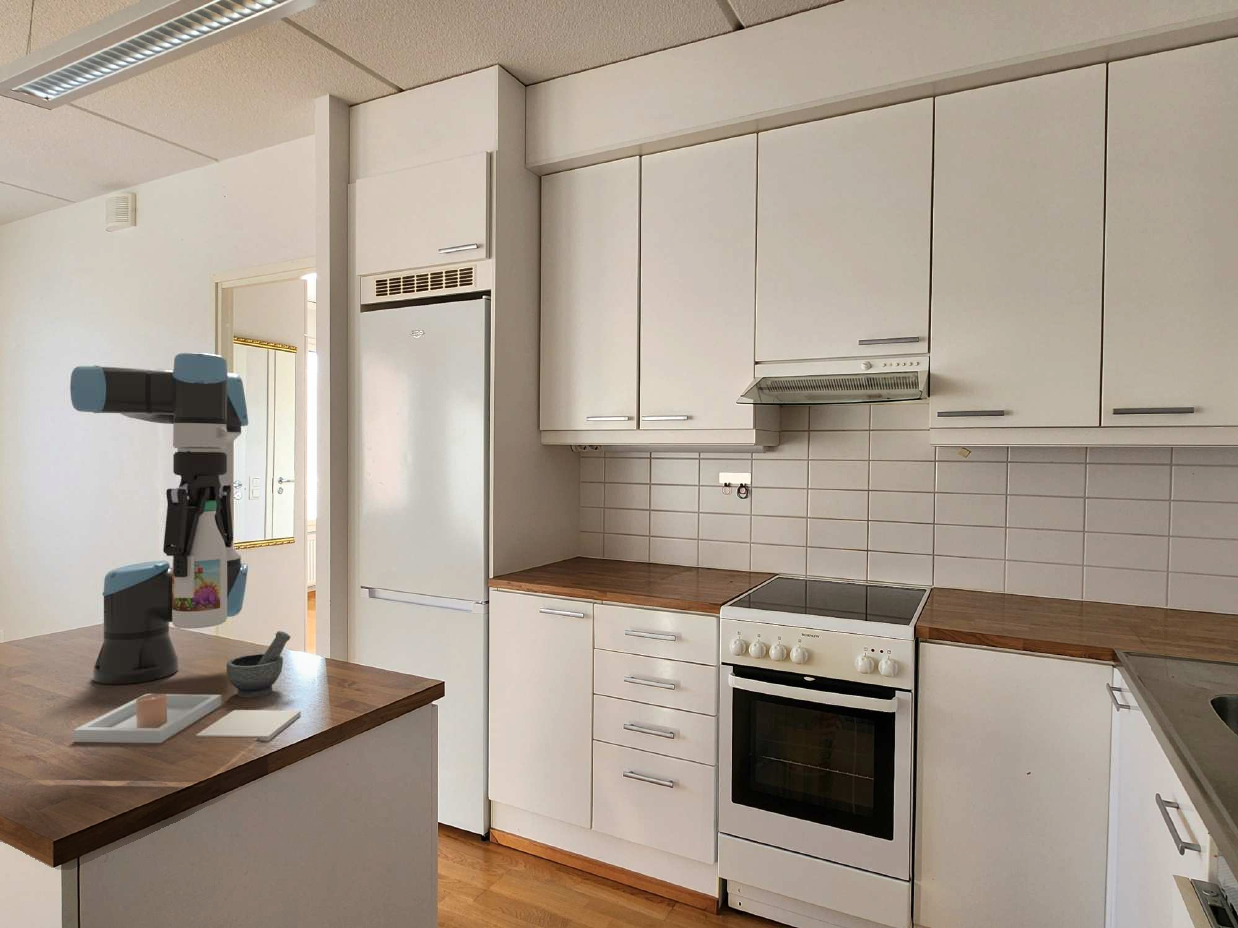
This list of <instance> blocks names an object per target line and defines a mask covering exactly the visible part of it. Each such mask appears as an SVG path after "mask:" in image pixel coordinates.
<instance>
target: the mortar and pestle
mask: <svg viewBox="0 0 1238 928" xmlns="http://www.w3.org/2000/svg"><path fill="white" fill-rule="evenodd" d="M290 639H291V636H290V635H289V634H288V633H287V632H284V631H282V630H278V631H277V632H276V633H275V638H274V639H273V640H272V642H271V644H270V645H269V646H268V648H267V650H266V651H265V652H264V653H255V654H247V655H242V656H239V657H234V658H231V659H230V660H229V661H227V662H226V675H227V679H228V680H229V682H230V684H231V685H232V686H233V687H234V688H236V689H237V694H236V696H239V697H241V698H257V697H262V696H265V695H268V694H271V693H272V692H273V690H274V689H273V685H274V684H275V683H276V682H277V680H278V679H279V677H280V675H281V673H282V670H283V664H284V663H283V661H284V657H283V656H281V654H282V652H283V650H284V648H285V646H286V644H287V643H288V641H290Z"/></svg>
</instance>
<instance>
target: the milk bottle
mask: <svg viewBox="0 0 1238 928" xmlns="http://www.w3.org/2000/svg"><path fill="white" fill-rule="evenodd" d="M216 507H217V505H216V501H215V500H208V501H206V503H205V508H204V512H203V514H201V515H200V516H199V520H198V524H197V529H196V533H195V537H194V541H193V545H192V549H191V553H190V555H191V556H194V597H193V598H174V557H173V556H172V567H171V568H172V622H171V623H172V625H173V627H175V628H177V629H189V630H191V629H202V628H203V629H204V628H210V627H211V628H212V627H215V626H219V625H222V624H224V623H226V621H227V619H228V617H227V553H226V546H225V543H224V540H223V538H222V536H221V534H220V532H219V530H218V528H217V525H216V522H215V514H216ZM188 508H196V507H193V506H190V507H188Z"/></svg>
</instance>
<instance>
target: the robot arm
mask: <svg viewBox="0 0 1238 928" xmlns="http://www.w3.org/2000/svg"><path fill="white" fill-rule="evenodd" d="M227 365H228V363H227V360H226V358H225V357H224V356H222V355H218V354H212V353H211V354H210V353H205V352H204V353H200V352H181V353H177V354H176V355H175V356H174V360H173V369H170V368H169V369H167V368H166V369H161V368H159V369H158V368H157V369H150V368H148V369H146V368H135V367H134V368H131V367H130V368H129V367H118V366H117V367H116V366H114V367H113V366H101V365H78V366H76V367H74V368H73V370H72V372H71V375H70V382H69V383H70V384H69V385H70V388H69V389H70V390H69V391H70V401H71V404H72V407H73V408H74V410H76V411H78V412H83V413H93V414H120V415H122V416H125V417H126V418H131V419H134V420H135V419H136V420H140V421H144V422H145V421H146V422H149V423H158V424H164V425H165V424H166V425H169V424H171V425H173V426H172V429H173V432H172V433H173V434H172V447H173V448H174V449H177V451H175V452H174V454H172V455H173V456H172V458H173V461H172V462H173V465H172V466H173V468H172V470H173V474H174V475H175V476H180V483H179V486H178V487H176V488H168V489H166V493H165V495H166V501H167V502H166V503H167V505H166V506H167V507H166V508H167V509H166V517H165V519H166V520H165V529H164V536H163V537H164V538H163V539H164V540H163V549H162V551H163V553H164V554H166V556H167V557H169V556H170V557H172V558H173V557H174V598H193V597H194V556H191V555H190V553H191V549H192V545H193V541H194V537H195V533H196V529H197V524H198V520H199V516H200V515H201V514H203V512H204V508H205V503H206V501H208V500H215V501H216V505H217V507H216V514H215V522H216V525H217V528H218V530H219V532H220V534H221V536H222V538H223V540H224V543H225V546H226V553H227V618H229V617H230V618H231V617H235V616H238V615H239V614H240V613H241V611H242V609H243V604H244V600H245V593H246V585H247V580H248V578H247V577H248V569H249V565H248V564H247V563H245V562H242V561H241V560H242V559H241V558H242V556H241V554H239V552H237V551H236V550H235V548H234V442H235V440H236V439H237V438H238V437H239V436H241V435H242V427H245V426H246V427H247V426H248V425H249V418H248V409H247V402H246V396H245V389H244V383H243V379H242V378H241V376H240V375H239V374H237V373H232V372H228V366H227ZM190 506H193V507H196V508H188V507H190ZM241 562H242V563H241ZM172 568H173V567H171V564H170V563H169V561H168V560H158V561H157V560H152V561H146V562H139V563H134V564H130V565H125V566H121V567H117V568H113V569H112V570H110V571H108V572H107V573H106V575H105V577H104V579H103V580H104V581H103V592H102V596H103V641H102V644H101V648H100V650H99V653H98V655H97V658H96V660H95V661H96V662H95V664H94V666H93V669H92V670H93V671H92V672H93V674H92V676H93V678H92V680H93V681H94V682H95V683H98V684H102V685H130V684H137V683H142V682H150V681H155V680H158V679H162V678H164V677H168V676H170V675H172V674H175V673H176V672H178V670H179V657H178V655H177V652H176V650H175V646H174V644H173V642H172V639H171V636H170V623H173V622H172Z"/></svg>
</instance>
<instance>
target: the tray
mask: <svg viewBox="0 0 1238 928" xmlns="http://www.w3.org/2000/svg"><path fill="white" fill-rule="evenodd" d="M151 694H152V693H145V694H144V695H141V696H139V697H137V698H135V699H133V700H131V701H128V702H126V703H125V704H123V705H121V706H119V707H117V708H115V709H113V710H110V711H109V712H107V713H105V714H102V715H100V716H98V717H97V718H94V719H93V720H91V721H89V722H87V723H85V724H83V725H81V726H79V727H76V728H74V729H73V743H76V742H77V743H118V744H119V743H123V744H125V743H128V744H129V743H130V744H131V743H132V744H161V743H163V742H165V741H166V740H168V739H169V738H171V737H173V736H174V735H176V734H177V733H180V732H181V731H183V730H184V729H187V727H189V726H190V725H192V724H193V723H195V722H197V721H199V720H200V719H202V718H203V717H206V716H207V715H208V714H209V713H212V712H213V711H215V710H216V709H218V708H220V707H221V706H222V697H223V695H222V694H195V693H194V694H189V693H187V694H184V693H183V694H182V693H180V694H178V693H175V694H174V693H165V694H166V695H167V723H166V724H164V725H162V726H161V727H159V728H137V717H136V699H138V698H140V697H142V696H146V695H151Z"/></svg>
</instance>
